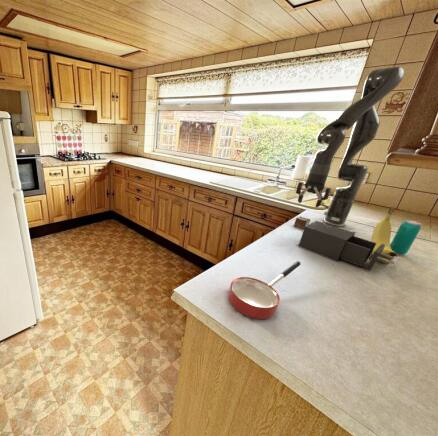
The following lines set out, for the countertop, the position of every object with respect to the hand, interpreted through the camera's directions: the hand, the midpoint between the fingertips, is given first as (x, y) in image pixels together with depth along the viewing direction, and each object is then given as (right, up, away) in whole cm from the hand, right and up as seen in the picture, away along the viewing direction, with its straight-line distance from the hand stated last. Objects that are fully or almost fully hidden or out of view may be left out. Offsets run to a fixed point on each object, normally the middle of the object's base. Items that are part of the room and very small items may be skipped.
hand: (308, 204), depth 119 cm
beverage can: (+27, -23, -17) cm, 39 cm away
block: (-1, -12, +5) cm, 13 cm away
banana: (+15, -24, -21) cm, 35 cm away
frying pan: (-45, -30, -45) cm, 70 cm away
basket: (+2, -24, -26) cm, 36 cm away
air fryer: (-5, -21, -17) cm, 27 cm away
